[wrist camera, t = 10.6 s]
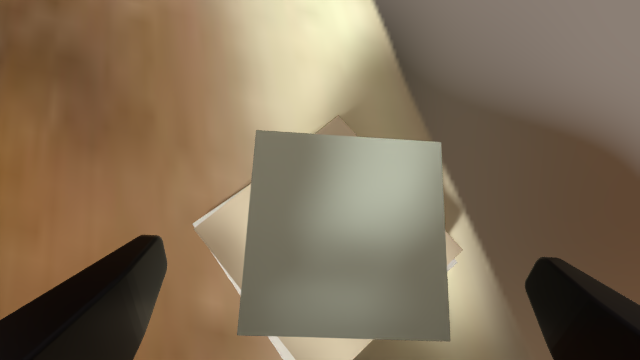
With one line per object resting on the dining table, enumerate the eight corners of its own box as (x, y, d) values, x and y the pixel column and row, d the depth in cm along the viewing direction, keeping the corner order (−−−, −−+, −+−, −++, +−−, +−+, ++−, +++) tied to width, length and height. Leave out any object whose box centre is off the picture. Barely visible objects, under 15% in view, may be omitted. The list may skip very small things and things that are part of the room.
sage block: (368, 296, 16) (450, 341, 8) (269, 293, 16) (237, 335, 7) (369, 199, 18) (441, 142, 9) (276, 194, 17) (255, 129, 9)
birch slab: (318, 377, 17) (320, 391, 15) (204, 232, 19) (193, 228, 17) (446, 250, 19) (463, 249, 17) (334, 128, 21) (338, 115, 19)
